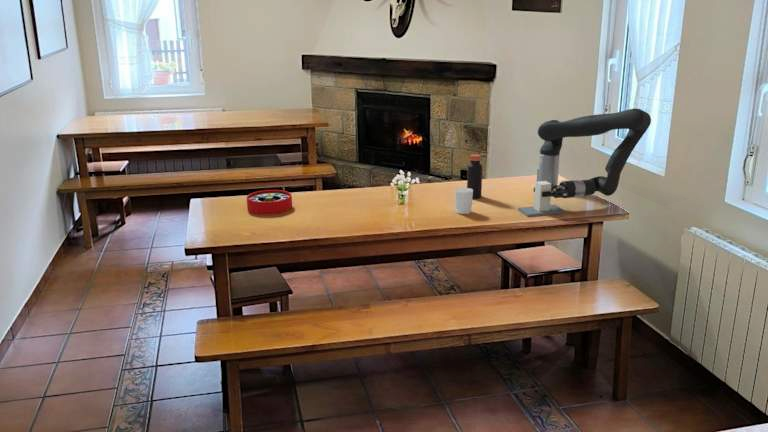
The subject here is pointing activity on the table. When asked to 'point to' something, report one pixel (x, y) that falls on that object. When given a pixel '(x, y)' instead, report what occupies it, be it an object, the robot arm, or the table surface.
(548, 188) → the block
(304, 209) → the table surface
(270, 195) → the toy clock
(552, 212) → the mat
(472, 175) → the bottle
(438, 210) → the table surface
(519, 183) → the table surface
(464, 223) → the table surface
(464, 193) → the white cup
